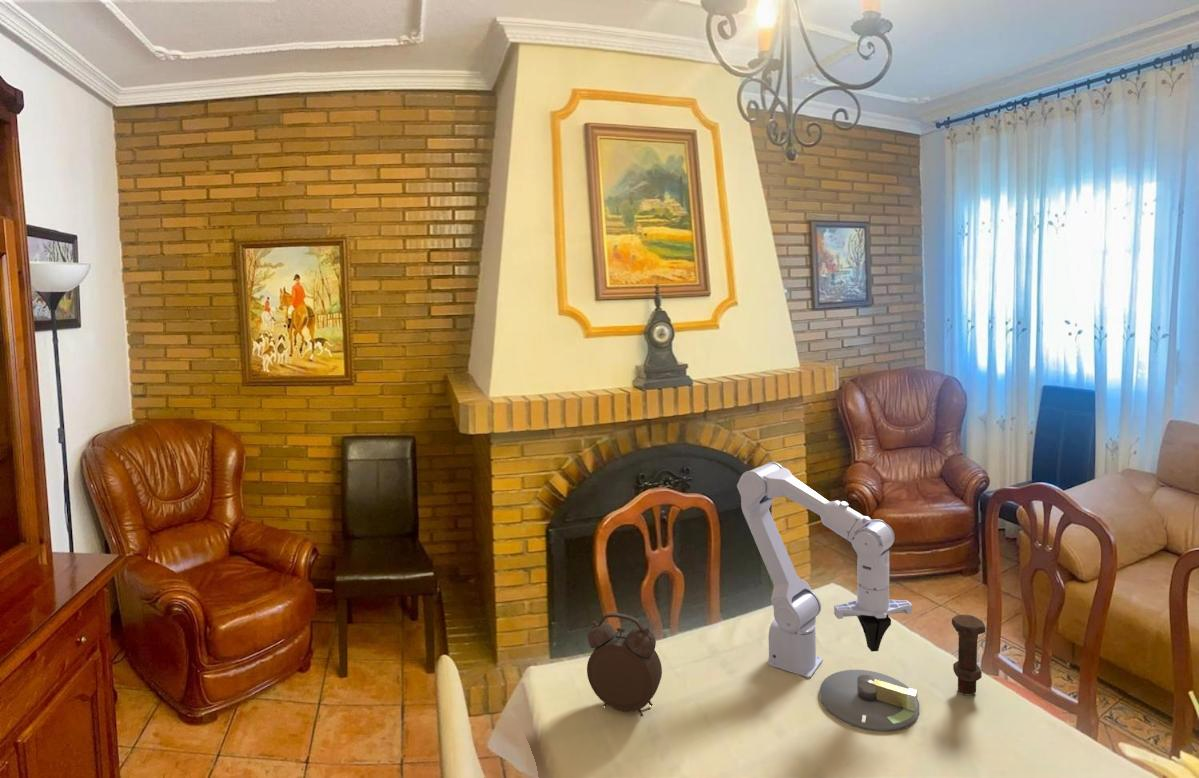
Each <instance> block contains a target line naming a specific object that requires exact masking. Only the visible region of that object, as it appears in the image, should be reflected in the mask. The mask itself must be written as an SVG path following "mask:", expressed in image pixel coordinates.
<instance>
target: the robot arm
mask: <svg viewBox="0 0 1199 778" xmlns="http://www.w3.org/2000/svg"><path fill="white" fill-rule="evenodd" d="M737 482H738V483H737V484H736V488H737V490H738V493H739V495H740V500H741V502H740V505H741V511H742V514H743V517H744V519H745V521H746V523H747V526H748V527H749V530H750V532H751V534H752V537H753V540H754V542H755V545H756V547H757V549H758V551H759V553H760V556H761V558H762V561H763V563H764V566H765V568H766V570H767V573H768V574H769V577H770V578H769V579H770V580H771V582H772V584H773V590H772V594H771V598H770V602H771V605H772V607H773V617H774V618H773V620H772V622H771V623H770V626H769V631H768V661H767V665H768V666H771V667H774V668H776V669H777V668H778V669H780V670H783V671H787V672H790V673H793V674H796V675H798V676H802V677H806V678H808V679H809V678H811V677H812V676H813V674H814V673H815V672H816V671H817V669H818V668H819V667H820V665H821V664H822V662H823V661H824V659H823V657H820V656H817V647H816V646H817V644H816V638H817V637H816V634H817V633H816V632H817V631H816V623H817V622H816V618H817V617H818V616H819V614H820V613H821V611H822V602H821V601H820V599H819V597H818V595H817V594H816V593H815V592H814V591H813V590H812V588H811V587H810V584H809V582H807V581H806V580H804V579H802V578H800V577H799V575H798V574H797V570H796V569H795V567H794V565H793V562H792V559H791V558H790V555H789V552H788V551H787V548H786V546H785V543H784V541H783V539H782V536H781V534H780V531H779V529H778V527H777V524H776V522H775V520H774V518H773V516H772V513H771V511H770V508H771V505H772V503H773V501H774V498H775V499H776V498H787V499H789V500H791V501H793V502H795V503H797V504H798V505H800V506H802V507H804V508H805V509H807V510H809V511H812V513H814V514H816V515H818V516H820V520H821V524H822V525H824V527H826V528H828V529H830V530H831V531H833V532H834V533H836V534H837V535H839V536H840V537H841V538H843V539H845V540H846V541H848V542H850V543H851V546H852V548H853V550H854V552H855V553H856V557H857V559H856V561H857V563H856V565H857V573H856V577H857V578H856V580H857V581H856V583H857V587H856V590H857V591H856V594H857V595H856V597H857V599H855V600H851V601H847V602H845V603H841V604H834V606H833V614H834V616H835V617H836V618H837V619H838V620H841V619H844V617H857V619H858V621H859V623H860V626H861V628H862V631H863V633H864V637H865V641H866V646H867V648H868V649H869V650H870V652H879V649H880V646H881V643H882V640H883V637H884V635H885V633H886V632H887V630H888V629H889V627H890V626H891V625H892V619H891V618H890V617H889V615H890V614H891V615H892V614H906V615H913V604H912V603H911V602H910V601H908V600H907V599H905V600H899V599H890V549H889V548H891V547H892V546H893V544H894V542H895V537H896V536H895V532H894V530H893V529H892V527H891V526H890V525H889V524H888V523H886V522H885V521H884V520H883V519H878V518H877V519H876V518H875V519H871V517H869V516H867V515H863V514H861V513H860V512H858V511H856V510H854V509H853V508H851V507H850V506H849V505H850V504H849V503H848V502H847V501H844V500H842V501H841V500H839V499H838V500H832V501H830V500H828V499H826V498H825V497H823V495H821V494H819V493H818V492H816V491H815V490H813V489H812V488H810V487H809V486H808V485H807V484H805V483H803V482H802V481H801V480H799V479H798V478H797V477H795V476H794V475H793V474H792V472H791V470H789V469H788V468H786V467H783V466H782V465H781V464H780V463H778V462H776V461H769V462H766V463H765V464H763V465H761V466H758V467H756V468H753V469H751V470H746V471H745V472H743V473H742V474H741V475H740V478H739V480H738V481H737Z"/></svg>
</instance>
